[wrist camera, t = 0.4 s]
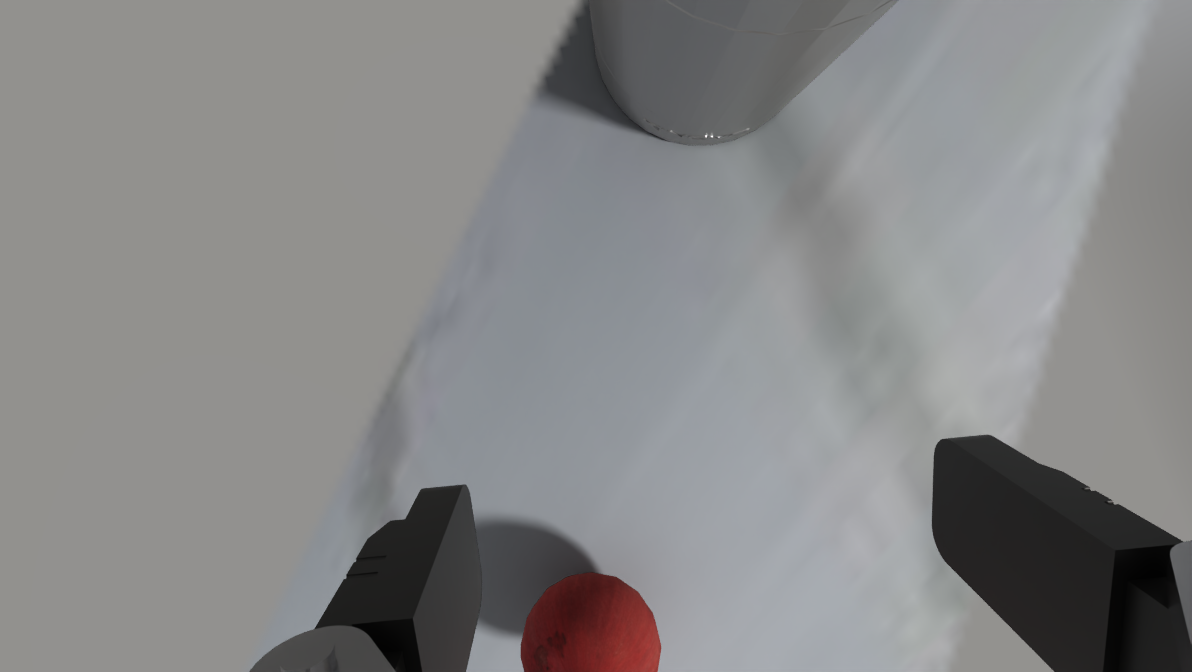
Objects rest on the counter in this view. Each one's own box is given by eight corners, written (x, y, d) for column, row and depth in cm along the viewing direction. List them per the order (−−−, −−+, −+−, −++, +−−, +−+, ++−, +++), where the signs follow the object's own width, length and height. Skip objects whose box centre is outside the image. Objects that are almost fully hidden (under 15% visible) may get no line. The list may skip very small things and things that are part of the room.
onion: (550, 666, 31) (526, 805, 23) (520, 556, 31) (485, 661, 23) (667, 643, 31) (683, 776, 23) (640, 531, 30) (646, 628, 22)
